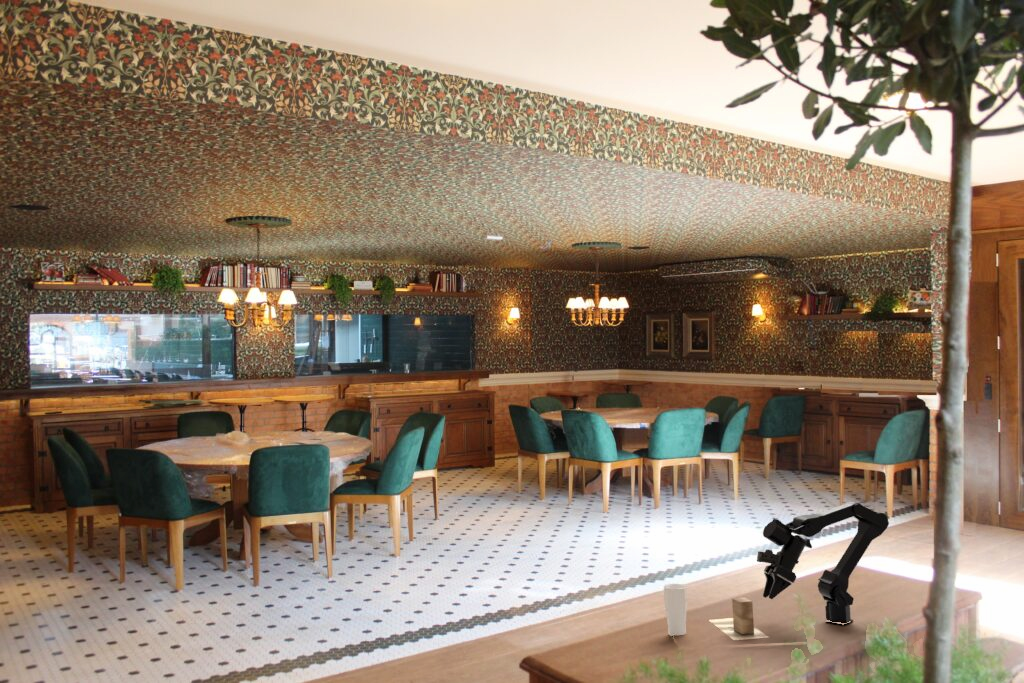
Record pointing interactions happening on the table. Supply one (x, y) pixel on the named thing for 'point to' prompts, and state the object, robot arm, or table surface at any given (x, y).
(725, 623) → the board
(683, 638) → the table surface
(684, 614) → the drinking glass
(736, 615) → the block
